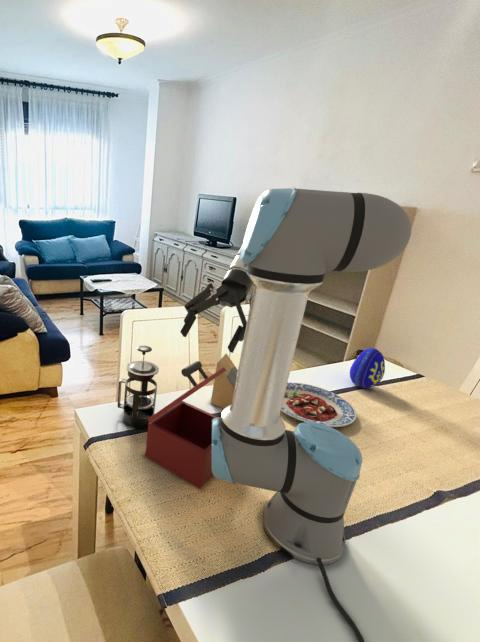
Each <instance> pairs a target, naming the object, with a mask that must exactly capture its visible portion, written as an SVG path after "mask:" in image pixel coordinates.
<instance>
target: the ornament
mask: <svg viewBox="0 0 480 642" xmlns="http://www.w3.org/2000/svg"><path fill="white" fill-rule="evenodd" d="M385 371H386V364H385V357H384V355H383V353H382V351H380V350H378V349H377V348H375V347H368V348H366V349H364V350H363V351H361V353H360V354H359V355H357V357H356V359H354V361H353V362H352V365H351V366H350V369H349V378H350V380H351V382H352V383H353V385H355V386H357V387H359V388H361V389H366V390H367V389H368V390H369V389H371V388H374V387H375V386H377V385H378V384H379V383H380V382H381V381H382V379H383V378H384V376H385Z"/></svg>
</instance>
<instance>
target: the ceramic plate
mask: <svg viewBox="0 0 480 642" xmlns="http://www.w3.org/2000/svg"><path fill="white" fill-rule="evenodd" d="M280 412H281V413H284V414H285V415H287V416H289V417H291V418H293V419H295V420H298V421H300V422H302V423H304V422H316V423H320V424H324V425H327V426H329V427H331V428H339V427H340V428H342V427H346V426H349V425H352V424H353V423H355V421H356V420H357V411H356V409H355V408H354V407H353V405H352V404H351V403H349V401H347V400H346V399H344V398H343V397H342V396H340V395H338V394H337V393H334V392H332V391H330V390H328V389H325V388H322V387H319V386H316V385H313V384H307V383H302V382H301V383H300V382H287V386H286V391H285V395H284V399H283V403H282V407H281V411H280Z"/></svg>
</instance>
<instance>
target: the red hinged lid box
mask: <svg viewBox="0 0 480 642" xmlns="http://www.w3.org/2000/svg"><path fill="white" fill-rule="evenodd" d="M218 417H219V416H217V415H216V414H215V415H214V414H212V413H210V412H208V411H206V410H203V409H202V408H199V407H197V406H195V405H194V404H193V405H192V404H190V403H189V402H186V401H184V400H183V401H181V402H180V403H178V404H177V405H175V406H174V407H172V408H171V409H169V410H168V411H166V412H165V413H163V414H162V415H161V416H159V417H158V418H156V419H155V420H153V421H152V422H149V423H148V428H147V435H146V445H145V454H144V456H145V457H146V458H148V459H149V460H151V461H153V462H155V463H156V464H158V465H160V466H161V467H162V468H165V469H166V470H168V471H169V472H172V473H173V474H175V475H176V476H177V477H179V478H181V479H183V480H184V481H186V482H188V483H189V484H191V485H193V486H194V487H196V488H197V489H199V490H200V489H202V488H203V487H204V486H205V484H207V483H208V481H209V480H210V479H211V478H212V477H214V475H213V473H212V469H211V464H212V419H213V418H218Z"/></svg>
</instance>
